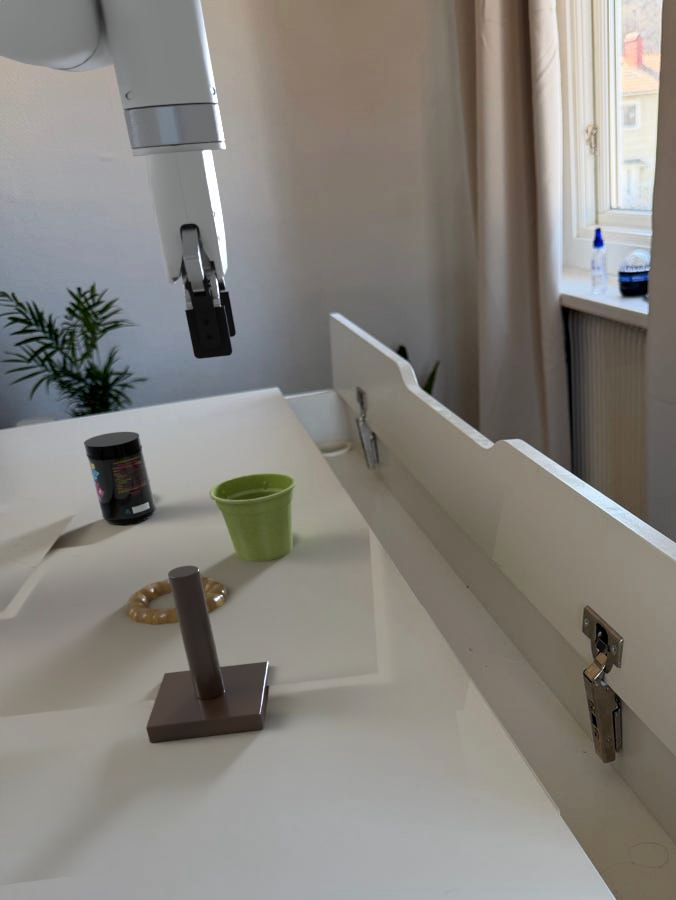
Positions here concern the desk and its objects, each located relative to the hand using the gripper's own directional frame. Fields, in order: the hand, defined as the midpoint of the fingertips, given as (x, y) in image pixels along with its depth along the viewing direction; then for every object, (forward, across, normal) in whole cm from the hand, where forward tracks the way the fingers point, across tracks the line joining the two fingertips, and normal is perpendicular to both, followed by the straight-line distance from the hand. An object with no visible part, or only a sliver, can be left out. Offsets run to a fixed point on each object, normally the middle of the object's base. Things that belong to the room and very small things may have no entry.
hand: (216, 346), depth 88 cm
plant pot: (+26, -13, 0) cm, 29 cm away
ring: (+25, -2, -9) cm, 27 cm away
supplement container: (+26, -35, -18) cm, 47 cm away
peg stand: (+26, +19, -4) cm, 33 cm away
